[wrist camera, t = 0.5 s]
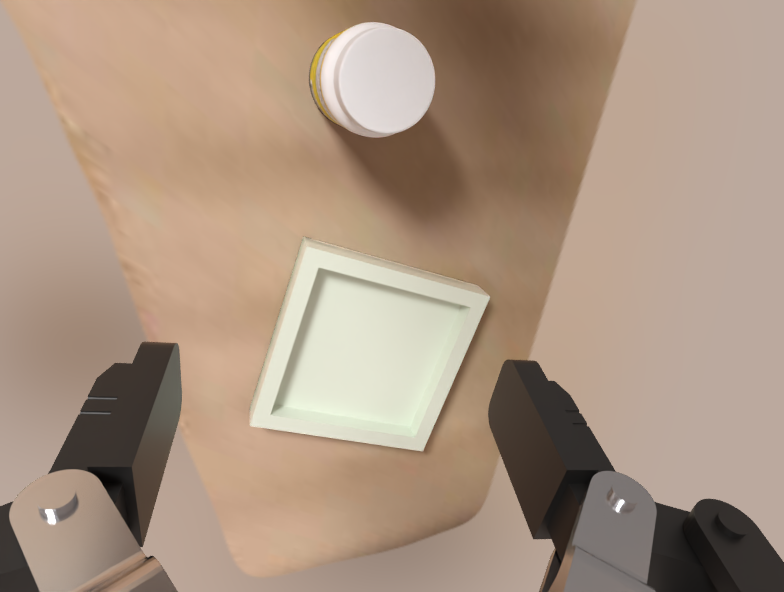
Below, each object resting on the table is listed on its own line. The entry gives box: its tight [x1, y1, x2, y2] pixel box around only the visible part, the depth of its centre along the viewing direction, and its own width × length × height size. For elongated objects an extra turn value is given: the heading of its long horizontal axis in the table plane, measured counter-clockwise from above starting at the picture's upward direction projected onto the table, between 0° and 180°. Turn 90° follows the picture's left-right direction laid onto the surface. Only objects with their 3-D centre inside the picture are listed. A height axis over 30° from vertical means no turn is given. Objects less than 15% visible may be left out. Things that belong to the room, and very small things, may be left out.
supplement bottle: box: [309, 22, 435, 138], centre depth 25 cm, size 5×5×8 cm
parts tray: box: [250, 236, 490, 451], centre depth 34 cm, size 12×12×2 cm
